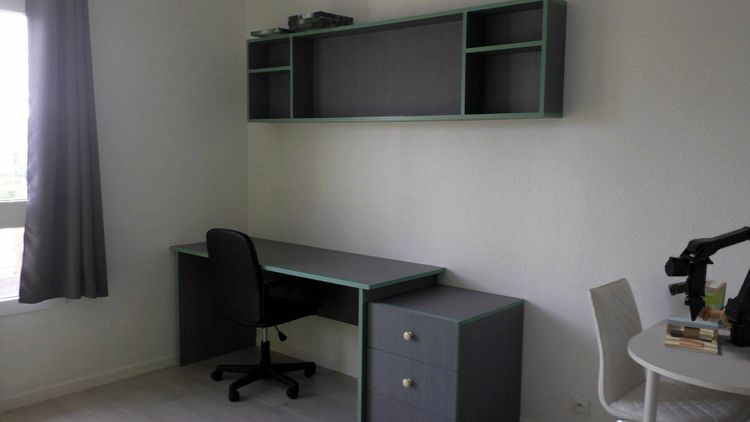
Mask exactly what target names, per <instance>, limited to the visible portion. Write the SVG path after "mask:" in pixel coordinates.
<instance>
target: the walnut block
mask: <svg viewBox="0 0 750 422" xmlns="http://www.w3.org/2000/svg"><path fill="white" fill-rule="evenodd" d="M700 329H701V328H694V327H687V326H684V334H682V335H683V337H682V338H687V339H694V340H700V336H699V335H700Z"/></svg>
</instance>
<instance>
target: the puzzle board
mask: <svg viewBox="0 0 750 422" xmlns="http://www.w3.org/2000/svg"><path fill="white" fill-rule="evenodd" d="M668 316H673V315H672V314H668ZM714 322H716V323H717V321H714ZM718 332H719V330H718V331H715V330H708V329H701V328H700V335H699V338H700V337H701V338H707V339H711V342H708V341H703V340H700V339H699V340H694V339H687V338H683V337H676V336H675V337H674V336H672V333H673V334H680V335H684V326H680V325H673V324H667V323H666V331H665V338H664V346H665V347H664V348H673V349H677V350H678V349H679V350H685V351H690V352H695V353H696V352H697V353H704V354H711V355H716V356H717V355H718V352H719V351H718V335H719V333H718Z"/></svg>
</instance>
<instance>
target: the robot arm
mask: <svg viewBox="0 0 750 422" xmlns="http://www.w3.org/2000/svg"><path fill="white" fill-rule="evenodd" d="M746 241H748V242H750V226H749V225H745V226H742V227H741V228H737V229H735V230H734V229H733V230H732V231H729V232H726V233H722V234H718V235H715V236H713V237H699V238H694V239H693V238H692V239H690V240H689V241H688V243H687V245H686V247H685V249H684V250H683V251H682V252H681V253H680V254H679V256H669V257H668V260H666V263H665V264H664V271H665V274H666V276H667V277H668V278H676V277H677V278H678V277H679V278H680V277H683V278H685V279H686V280H685V281H681V282H676V283H671V284H669V285H668V290H669V292H670V296H671V297H673V296H676V295H680V294H684V295H685V297H684V303H683V304H684V306H688V307H689V315H690V314H691V321H695V320H696V318H697V317H698V315H699V313H700V311H701V310H702V308H704V307H705V302H706V301H705V299H704V298H703V297H705V286H706V279H707V275H708V274H707V272H708V265H714V264H715V263H714V261H713V260H712V259H710V257H711V256H714V255H715V254H716V253H717V252H719V251H720V250H722V249H725V248H728V247H732V246H735V245H738V244H740V243H744V242H746ZM744 277H745V278H744V279H743V283H742V284H741V286H740V289H739V291H738V293H737V295H736V296H735V297H733V298H732V297H728V298H727V302H726V305H724V313H725V315H726V317H727V319H728V322H729V323H731V324H732V326H731V325H730V326H731V329H730V330H729V331H730V332H729V339H725V341H726V342H727V343H730V344H733V345H736V346H737V347H741V348H742V347H750V267H749V268H748V271H747V273H746V275H745V276H744ZM701 296H703V297H701Z"/></svg>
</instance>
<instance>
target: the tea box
mask: <svg viewBox="0 0 750 422" xmlns="http://www.w3.org/2000/svg"><path fill="white" fill-rule="evenodd" d="M726 293H727V282H726V281H719V280H714V279H707V278H706V286H705V297H703V296H701V297H703V298H704V299H705V301H706V302H705V305H706V306H708V307H710V309H712V310H715V311H725V308H724V307H725V303H726V302H725V301H726V295H727V294H726ZM688 319H691V314H690V313H689V315H688ZM696 320H702V318H699V317H697V318H696ZM702 321H703V320H702ZM708 321H709V322H714V321H717V323H718V324H719V322H720V321H721V318H720V319H717V320H712V319H708Z"/></svg>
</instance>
